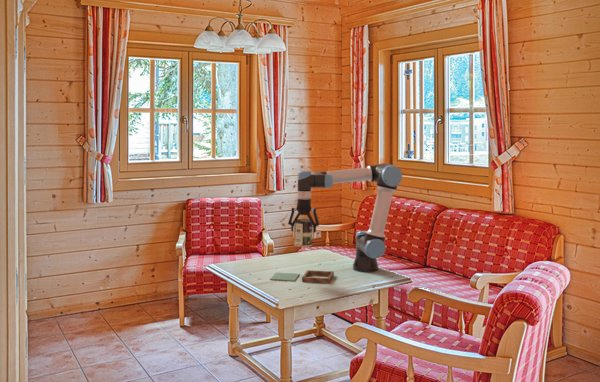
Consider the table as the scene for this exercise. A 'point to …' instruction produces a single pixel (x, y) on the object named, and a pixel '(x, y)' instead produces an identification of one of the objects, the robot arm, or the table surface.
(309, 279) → the tray
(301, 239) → the coffee can
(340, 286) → the table surface
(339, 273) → the table surface
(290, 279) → the mat
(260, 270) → the table surface
